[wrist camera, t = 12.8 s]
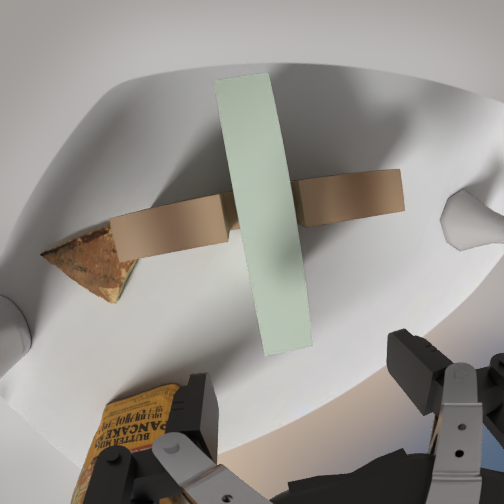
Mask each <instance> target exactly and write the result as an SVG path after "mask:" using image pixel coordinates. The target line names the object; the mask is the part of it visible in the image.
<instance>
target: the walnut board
mask: <svg viewBox="0 0 504 504" xmlns="http://www.w3.org/2000/svg"><path fill="white" fill-rule="evenodd" d="M290 184H291V190H292V196H293V202H294V208H295V214H296V220H297V223H299V224H300V225H302V226H304V227H305V228H307V227H313V226H318V225H324V224H330V223H336V222H342V221H347V220H353V219H359V218H365V217H371V216H377V215H383V214H389V213H396V212H402V211H405V206H404V196H403V188H402V180H401V172H400V169H391V170H378V171H367V172H357V173H347V174H339V175H331V176H324V177H316V178H309V179H302V180H295V181H290ZM110 224H111V229H112V233H113V237H114V242H115V246H116V250H117V254H118V258H119V262H124V261H129V260H135V259H140V258H145V257H150V256H155V255H160V254H165V253H171V252H176V251H181V250H186V249H192V248H197V247H202V246H207V245H213V244H218V243H224V242H228V239H229V231H230V230H235V229H240V225H239V219H238V214H237V209H236V203H235V198H234V193H233V191H230V192H224V193H219V194H214V195H209V196H204V197H199V198H194V199H189V200H184V201H180V202H175V203H170V204H166V205H161V206H157V207H152V208H148V209H144V210H141V211H137V212H133V213H129V214H125V215H122V216H118V217H114V218H111V219H110Z"/></svg>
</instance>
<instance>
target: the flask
mask: <svg viewBox="0 0 504 504" xmlns="http://www.w3.org/2000/svg"><path fill="white" fill-rule="evenodd" d="M440 222H441V225H442V228H443V232H444V235H445V238H446V242H447V243H449V244H450V245H452V246H453V247H455V248H456V249H457V250H459V251H463V250H467V249H471V248H474V247H478V246H483V245H487V244H492V243H503V244H504V216H503V215H500V214H498V213H496V212H494V211H493V210H491V209H490V208H488V207H487V206H485V205H484V204H482V203H481V202H480V201H478V200H477V199H475V198H474V197H473V196H471V195H470V194H468V193H467V192H465V191H464V190H460V191H459V192H458V193H456V194H455V195H453V196H452V197H450V198H449V199H448V201H447V203H446V206H445V209H444V212H443V214H442V217H441V220H440Z"/></svg>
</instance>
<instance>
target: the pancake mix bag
mask: <svg viewBox="0 0 504 504" xmlns="http://www.w3.org/2000/svg"><path fill="white" fill-rule="evenodd" d="M180 387H181V386H179V385H177V384H175V383H174V384H168V385H162V386H159V387H157V388H154V389H151V390H148V391H145V392H142V393H139V394H137V395H134V396H131V397H129V398H125V399H121V400H118V401H115V402H112V403H110V404H108V405H106V406H105V409H104V412H103V416H102V420H101V423H100V426H99V428H98V430H97V432H96V434H95V436H94V438H93V441H92V444H91V446H90V449H89V451H88V454H87V457H86V460H85V463H84V465H83V468H82V470H81V473H80V476H79V478H78V481H77V484H76V487H75V489H74V492H73V495H72V499H71V504H83V500H84V497H85V494H86V491H87V487H88V484H89V481H90V478H91V475H92V472H93V469H94V466H95V463H96V460H97V457H98V455H99V453H100V452H101V451H102V450H104V449H105V448H107V447H109V446H113V445H121V446H124V447H126V448H128V449H129V451H130V452H131V453H133V452H138V451H142V450H146V449H149V448H152V445H153V443H154V441H155V440H156V439H157V438H158V437H160V436H161V435H164V433H165V429H166V425H167V421H168V417H169V413H170V411H171V410H170V409H171V404H172V400H173V396H174V394H175V393H176V391H177V390H178V389H179V388H180ZM159 504H189V503H188V502H187V501H186V500H185V499H184V497H183V496H182V495H181V494H179V495H175V496H171V497H167V498H163V499H160V502H159Z"/></svg>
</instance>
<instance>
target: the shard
mask: <svg viewBox="0 0 504 504" xmlns="http://www.w3.org/2000/svg"><path fill="white" fill-rule="evenodd" d="M40 255H41V256H43V257H44V258H46V259H47V260H48V261H49V262H50V263H52V264H54V265H56V266H57V267H58V268H59V269H61V270H62V271H63V272H64V273H66V275H68V276H69V277H70V278H71V279H73V280H74V281H76V282H77V283H78V284H79V285H81V286H82V287H84V288H86V289H88V290H89V291H90V292H91V293H93V294H95V295H97V296H98V297H102V298H103V299H105V300H106V301H108V302H109V303H115V304H116V302H117V301H118V300H119V297H120V294H121V292H122V289H123V287H124V284H125V282H126V280H127V278H128V276H129V274H130V272H131V271H132V269H133V267H134V265H135V264H136V262H137V261H138V259H135V260H129V261H124V262H119V258H118V254H117V250H116V246H115V242H114V237H113V233H112V229H111V224H108V225H107V226H105V227H102V228H100V229H97V230H94V231H92V232H90V233H88V234H85V235H83V236H80V237H78V238H75V239H72V240H70V241H67V242H65V243H63V244H61V245H59V246H57V247H56V248H54V249H52V250H49V251H45V252H43V253H41V254H40Z"/></svg>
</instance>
